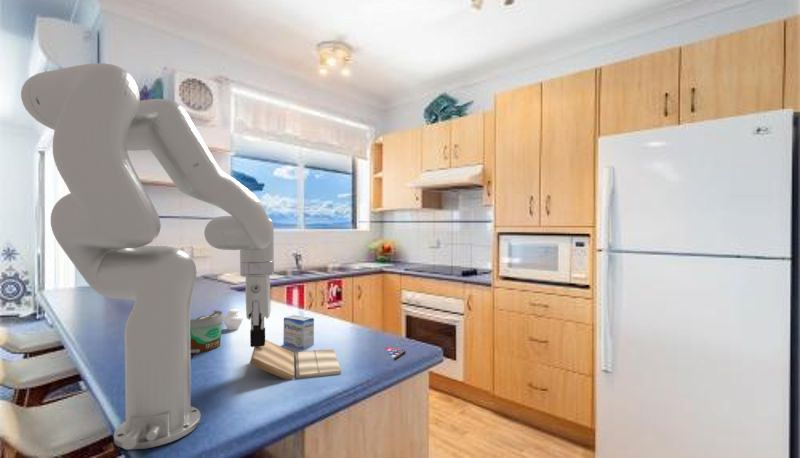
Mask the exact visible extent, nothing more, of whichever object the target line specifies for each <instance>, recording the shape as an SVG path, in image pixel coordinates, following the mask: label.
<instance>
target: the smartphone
mask: <svg viewBox="0 0 800 458" xmlns="http://www.w3.org/2000/svg"><path fill="white" fill-rule="evenodd" d="M384 349H385V351H386V352H387V354H389V355H390V357H391V358H392V360H393V361H396V360H398V359H399V358H401V357H402V356H403V355H405V354H406V350H404V349H402V348H401V349H399V348H394V347H384Z"/></svg>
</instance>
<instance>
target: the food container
mask: <svg viewBox="0 0 800 458" xmlns="http://www.w3.org/2000/svg"><path fill="white" fill-rule="evenodd" d="M224 317H225V315H224V313H223V311H221V310H215V309H214V310H213V313H210V314H209V315H208V314H207V315H202V316H200V317H197V318H195V319H190V357H192V356H196V354H198V353H199V354H200V353H205V352H210V351H212V350H216V349H218V348H220V346H221V337H222V328H223V322H224V320H225V319H224Z"/></svg>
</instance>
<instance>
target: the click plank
mask: <svg viewBox="0 0 800 458" xmlns="http://www.w3.org/2000/svg"><path fill="white" fill-rule="evenodd" d="M249 364H250V365H251V366H254V367H256V368H258V369H260V370H263V371H265V372H268V373H270V374H272V375H274V376H277V377H279V378H282V379H283V380H286V381H287V380H293V379H294V377H295V352H293V351H291V350H289V349H287V348H285V347H283V346H280V345H278V344H275V343H273V342H271V341H269V340H267V339H265V345H264V346H258V347H253V350H252V354H251V357H250V361H249Z"/></svg>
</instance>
